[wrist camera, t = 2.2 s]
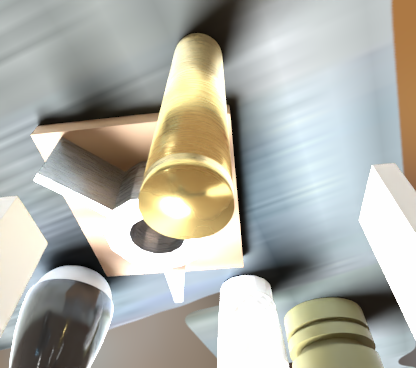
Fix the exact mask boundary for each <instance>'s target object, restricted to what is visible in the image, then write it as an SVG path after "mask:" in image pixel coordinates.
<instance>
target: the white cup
mask: <svg viewBox="0 0 416 368" xmlns="http://www.w3.org/2000/svg"><path fill="white" fill-rule="evenodd" d="M217 368H289V364H288V359H287V354H286V350H285V345H284V340H283V336H282V331H281V326H280V323H279V318H278V313H277V310H276V305H275V304H274V300H273V296H272V291H271V286H270V284H269V283H268V282H267V281H266V280H265V279H264V278H261V277H258V276H254V275H241V276H237V277H233V278H230V279H229V280H227V281H226V282H224V283H223V285H222V287H221V289H220V309H219V325H218V364H217Z"/></svg>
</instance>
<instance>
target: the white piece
mask: <svg viewBox="0 0 416 368" xmlns="http://www.w3.org/2000/svg"><path fill="white" fill-rule="evenodd" d="M146 165H147V161H141V162H139V163H138V164H136V165H135V166H133V167H132V168H130V169H129V170H127V171H126V172H125V171H123V170H121V169H120V168H118V167H116V166H114V165H112V164H111V163H109V162H107V161H105V160H103V159H102V158H100V157H98V156H96V155H94V154H93V153H91V152H89V151H87V150H85V149H83V148H82V147H80V146H78V145H76V144H74V143H73V142H71V141H69V140H67V139H65V138H64V137H61V138H60V140H59V141H58V143H57V144H56V146H55V147H54V149H53V150H52V152H51V154H50V155H49V157H48V158H47V160H46V161H45V163H44V164H43V166H42V167H41V169H40V170H39V172H38V173H37V175H36V177H35V179H34V180H33V181H35V182H37V183H39V184H42V185H44V186H46V187H48V188H50V189H52V190H54V191H56V192H58V193H60V194H62V195H64V196H66V197H69V198H71V199H73V200H75V201H77V202H79V203H81V204H83V205H85V206H87V207H89V208H91V209H93V210H95V211H98V212H100V213H102V214H104V215H106V216H108V218H107V221H106V224H105V227H104V230H103V232H104V234H105V236H106V238H107V240H108V242H109V244H110V246H111V249H112V250H114V251H115V252H117V253H118V254H120V255H121V256H123V257H124V258H126V259H127V260H128V261H130V262H132V263H136V264H140V265H144V266H148V267H152V268H163V269H164V271H165V274H166V277H167V280H168V283H169V286H170V289H171V292H172V295H173V297H174V300H175V302H183V292H184V278H185V264H186V263H188V262H190V261H192V260H195V259H197V258H199V257H200V256H201V254H202V253H203V251H204V250H205V248H206V247H207V245H208V243H209V242H210V236H208V237H205V238H200V239H191V240H186V239H176V238H172V237H169V236H166V235H163V234H161V233H159V232H157V231H155V230H154V229H153V228H151V227H150V226H149V225H148V224H147V223H146V222H145V221H144V220H143V218H142V216H141V214H140V212H139V209H138V197H139V193H140V189H141V185H142V181H143V177H144V173H145V169H146Z"/></svg>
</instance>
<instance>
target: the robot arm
mask: <svg viewBox="0 0 416 368" xmlns="http://www.w3.org/2000/svg"><path fill="white" fill-rule="evenodd" d="M359 222H360V224H361V226H362V228H363V230H364V232H365V234H366V236H367V238H368V241H369V243H370V245H371V247H372V249H373V251H374V253H375V255H376V257H377V260H378V262H379V264H380V266H381V268H382V270H383V272H384V274H385V276H386V279H387V281H388V283H389V285H390V287H391V289H392V291H393V293H394V295H395V297H396V300H397V302H398V304H399V306H400V308H401V310H402V312H403V314H404V316H405V319H406V321H407V323H408V325H409V327H410V329H411V331H412V333H413V335H414V337H415V340H416V191H415V190H414V188H413V187H412V186H411V184H410V183H409V182H408V180H407V179H406V178H405V176H404V175H403V173H402V172H401V171H400V169H399V168H398V167H397V165H396V164H395V163H389V164H378V165H372V167H371V171H370V176H369V180H368V184H367V188H366V192H365V197H364V201H363V205H362V209H361V214H360V218H359ZM47 244H48V242H47V241H46V239H45V238H44V236H43V235H42V233H41V231H40V230H39V228H38V227H37V225H36V224H35V222H34V221H33V219H32V218H31V216H30V215H29V213H28V211H27V210H26V208H25V207H24V205H23V204H22V202H21V201H20V199H19V198H18V196H11V197H0V337H1V335H2V333H3V331H4V329H5V327H6V325H7V323H8V321H9V319H10V317H11V315H12V313H13V311H14V309H15V308H16V306H17V304H18V302H19V300H20V298H21V296H22V294H23V292H24V290H25V288H26V286H27V284H28V282H29V280H30V278H31V276H32V274H33V272H34V270H35V268H36V266H37V264H38V262H39V260H40V258H41V256H42V254H43V252H44V250H45V248H46V246H47Z"/></svg>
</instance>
